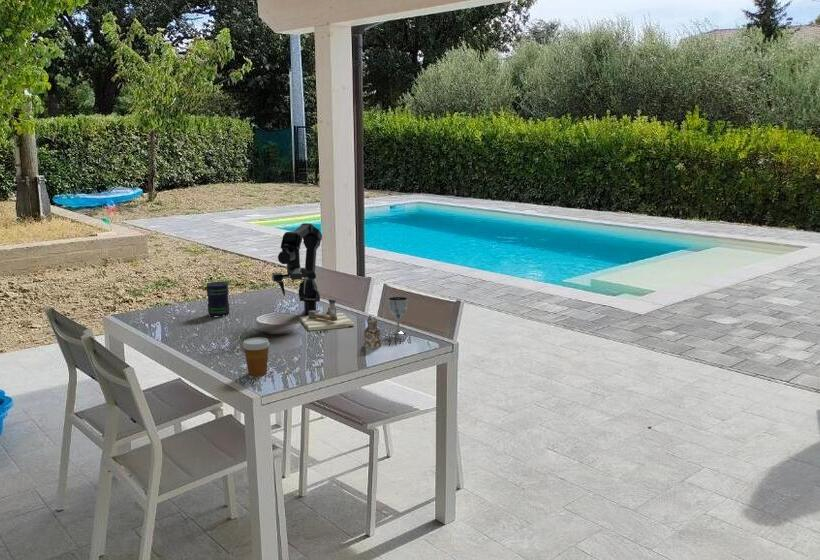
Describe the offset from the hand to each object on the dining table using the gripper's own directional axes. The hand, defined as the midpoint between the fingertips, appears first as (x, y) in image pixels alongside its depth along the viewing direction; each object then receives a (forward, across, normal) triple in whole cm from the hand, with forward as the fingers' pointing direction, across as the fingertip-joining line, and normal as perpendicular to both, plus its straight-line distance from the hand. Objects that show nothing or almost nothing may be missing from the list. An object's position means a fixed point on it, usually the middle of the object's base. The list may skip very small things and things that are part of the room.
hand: (294, 294), depth 336 cm
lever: (+11, +11, -4) cm, 17 cm away
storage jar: (+13, -31, +29) cm, 44 cm away
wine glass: (+13, +38, -32) cm, 51 cm away
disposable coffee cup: (+13, -26, -66) cm, 72 cm away
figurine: (+13, +22, -47) cm, 54 cm away
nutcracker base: (+13, +13, -5) cm, 19 cm away
